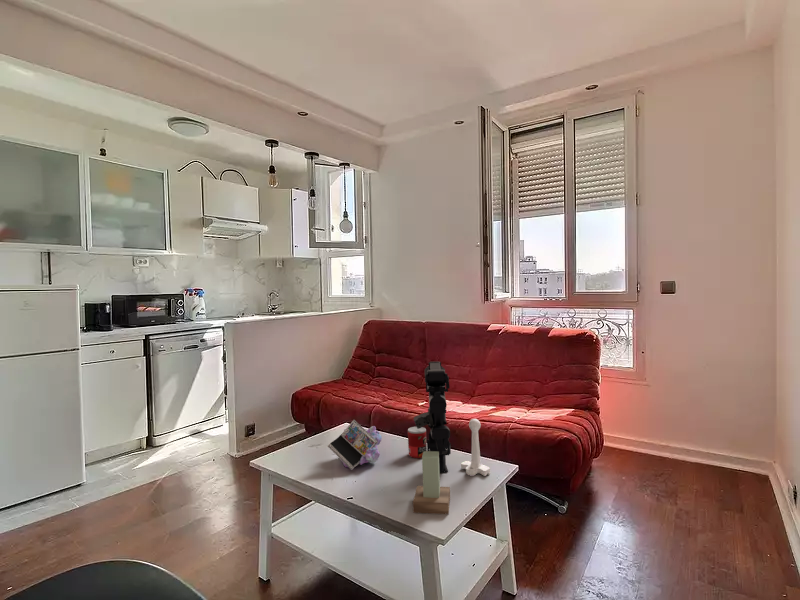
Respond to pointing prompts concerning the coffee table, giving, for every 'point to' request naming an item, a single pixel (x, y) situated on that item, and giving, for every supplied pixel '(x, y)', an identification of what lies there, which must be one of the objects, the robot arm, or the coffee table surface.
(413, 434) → the canned food
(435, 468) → the post
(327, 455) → the coffee table surface
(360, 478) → the coffee table surface
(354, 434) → the colorful box
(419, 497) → the base block
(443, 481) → the coffee table surface
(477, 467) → the joystick
